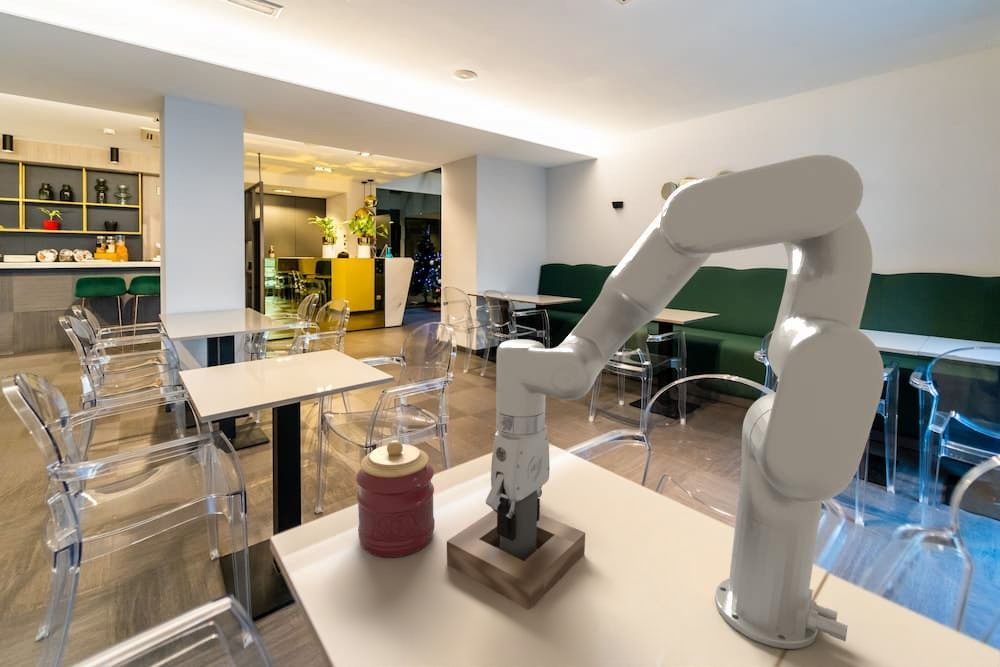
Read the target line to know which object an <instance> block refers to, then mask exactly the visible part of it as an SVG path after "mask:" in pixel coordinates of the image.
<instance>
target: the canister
mask: <svg viewBox="0 0 1000 667" xmlns="http://www.w3.org/2000/svg"><path fill="white" fill-rule="evenodd" d="M429 459H430V457H429V455H428V454H427V453H426V452H425V451H424V450H422V449H419V448H418V447H416V446H414V445H412V444H406V443H402V442H401V441H400V440H398V439H393V440H390V441H389V442H388V444H386V445H383V446H379V447H376V448H374V450H371V452H369V453H368V454H366V455H365V456H364V457H363V458H362V459H361V462H360V469H358V472H357V473H356V475H355V481H356V483H357V485H358V486H359V489H358V491H357V494H356V500H357V504H358V505H357V506H358V507H357V508H358V526H357V528H358V529H357V530H358V531H357V532H358V539H359V542H360V545H361V547H362V548H363V550H364V551H366V552H368V553H369V554H371V555H374V556H377V557H382V558H400V557H406V556H408V555H411V554H414V553H416V552H419V551H420V550H422V549H423V548H425V547H426V546H427V545H428V544H429V543H430V542H431V540H432V539H433V536H434V531H435V525H436V524H435V516H434V492H435V487H434V485H433V483H432V479H433V477H434V474H435V469H434V467H433V466H432V464H431V463H430V462H429Z"/></svg>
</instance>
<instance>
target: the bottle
mask: <svg viewBox="0 0 1000 667" xmlns="http://www.w3.org/2000/svg"><path fill="white" fill-rule="evenodd" d="M505 493H506V492H505ZM508 503H509V500H508V499H505V498H504V502H503V504H504V505H505V506H506V507H507V508H508ZM513 515H515V516H516V537H515V539H514V540H513V541H511V540H509V539H507V538H505V537H503V536H500V546H499V549H500V550H502V551H504V552H506V553H508V554H510V555H512V556H514V557H516V558H518V559H520V560H522V561H525V560H526V559H527V558H528V557H529V556H531V555H532V554H533V553H534V552H535V551H536V550H537V548H536V535H537V490H536V491H534V492H533V493H531V494H530V495H528V496H527V497H525V498H524V499H522V500H521V501H519V502H516V504H515V508H514V513H513Z"/></svg>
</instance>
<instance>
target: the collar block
mask: <svg viewBox="0 0 1000 667" xmlns="http://www.w3.org/2000/svg"><path fill="white" fill-rule="evenodd" d="M585 546H586V532H585V531H583V530H580V529H577V528H576V527H573V526H570V525H568V524H565V523H563V522H560V521H558V520H556V519H553V518H551V517H548V516H546V515H544V514H541V513H540V515H539V521H537V535H536V551H535V552H534V553H533V554H532V555H531V556H529V557H528V558H527V559H526V560H525V561H522V560H520V559H518V558H516V557H514V556H512V555H510V554H508V553H506V552H504V551H502V550H500V548H499V547H500V535H499V534H498V533H497V513H496V512H495V511H494V510H493V509H492V510H491V511H490V512H488V513H486V515H483V516H482V517H481V518H480V519H478V520H476V521H475V522H474V523H472V524H470V525H469V526H467V527H466V528H464V529H463V530H462V531H460V532H458V533H457V534H455V535H453V536H452V537H451V538H450V539H449V538H448V540H446V564H447V565H448V566H450V567H451V568H454V569H455V570H457V571H459V572H461V573H463V574H464V575H467V576H468V577H470V578H472V579H474V580H475V581H476V582H479V583H480V584H482V585H484V586H485V587H487V588H489V589H491V590H493V591H495V592H496V593H499V594H500V595H502V596H504V597H506V598H507V599H509V600H511V602H512V601H513V602H514V603H516V604H519V606H521V607H523V608H525V609H527V610H529V611H530V610H531V609H532V608H533V607H534V606H535V605H536V604H538V602H539V601H540V600H541V599H542V598H544V596H545V595H546V594H547V593H548V592H549V591H550V590H551V589H552V588H553V587H554V586H555V585H556V584H557V583H558V582H559V581H560V580H561V579H562V578H563V577H564V576H565V575H566V574H567V573H568V572H569V571H570V570H571V569H572V568H573V567H574V565H576V564H577V563H578V562H579V561H580V560H581V559H582V558H583V557H584V556H585V550H586V549H585V548H586V547H585Z"/></svg>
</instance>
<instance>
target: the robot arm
mask: <svg viewBox="0 0 1000 667" xmlns="http://www.w3.org/2000/svg"><path fill="white" fill-rule="evenodd" d="M863 184H864V183H863V180H862V177H861V175H860V174H859V171H858V170H857V169H856V167H855V166H853V165H852V164H851V163H849V162H848V161H847V160H845V159H843V158H840V157H838V156H835V155H834V156H833V155H830V154H812V155H806V156H801V157H797V158H793V159H787V160H782V161H780V162H779V161H778V162H775V163H770V164H765V165H762V166H758V167H757V166H756V167H753V168H749V169H744V170H739V171H736V172H730V173H726V174H725V173H724V174H720V175H716V176H715V175H714V176H710V177H706V178H701V179H695V180H694V181H690V182H687V183H685V184H684V185H681V186H679V187H678V188H677V189H675V190H674V191H673V192H672V193H670V195H669V197H668V198H666V199H667V200H666V201H665V202H664V205H663V208H662V209H661V210H660V211H659V213H658V215H657V216H656V217H655V219H654V220H653V221H652V222H651V224H650V225H649V226H648V227H647V229H646V230H645V231H644V232H643V234H642V235H641V236H640V237H639V238H638V240H637V241H636V242H635V243H634V245H632V247H631V248H630V249H629V250H628V252H627V253H626V255H624V257H623V258H622V260H620V262H619V263H618V264H617V265H616V266H615V268H614V269H613V270H612V271H611V273H610V274H609V276H608V277H607V278H606V280H605V282H604V284H603V286H602V289H601V291H600V293H599V295H598V297H597V298H596V300H595V302H593V304H592V305H591V306H590V308H589V309H588V311H587V312H586V313H585V315H583V317H582V318H581V319H580V321H579V322H578V323H577V324H576V326H575V327H574V328H573V329H572V330H571V332H570V333H569V334H568V336H566V337H565V339H564V340H563V341H562V342H561V343H560V344H559V345H558V346H555V347H553V348H546V347H545V345H544V344H543V343H541V342H540V341H538V340H537V341H536V340H533V339H526V338H525V339H519V338H517V339H509V340H505V341H502V342H501V343H499V345H498V347H497V348H496V372H495V373H496V379H495V381H496V385H495V386H496V388H495V390H496V391H495V393H496V396H495V401H496V403H495V410H496V412H495V414H496V415H495V420H496V421H495V430H496V432H495V435H494V438H493V447H492V455H491V456H492V457H491V468H490V470H491V471H490V484H491V485H490V486H491V487H490V491H489V493H488V495H487V497H486V499H485V504H486V505H487V506H488V507H490V508H491V509H492V511H493V510H494V511H495V512H496V513H497V533H498V534H499V535H500V536H503V537H505V538H507V539H509V540H511V541H513V540H514V539H515V537H516V516H515V515H513V513H514V508H515V504H516V502H519V501H521V500H522V499H524V498H525V497H527V496H528V495H530V494H531V493H533V492H534V491H536V490H537V521H539V515H540V514H541V513H540V511H541V510H540V508H541V507H540V506H541V505H540V504H541V503H540V502H541V499H540V498H541V497H542V494H543V489H542V488H543V486H544V485H545V484H546V483H548V481H549V479H550V442H549V436H548V435H549V434H548V429H547V424H546V396H547V397H551V398H554V399H558V400H563V401H576V400H579V399H581V398H584V397H585V396H586V395H588V393H589V392H590V390H591V389H592V387H593V386H594V384H595V382H596V380H597V377H598V375H599V374H600V373H601V371H602V370H603V369H604V368H605V366H606V365H607V364H608V363H609V362H610V360H611V359H612V358H613V357H614V356H615V354H617V352H618V351H619V350H620V349H621V348H622V347H623V345H624V344H625V343H626V342H627V341H628V340H629V339H630V338H631V337H632V336H633V335H635V333H636V332H637V331H638V330H640V328H641V327H643V326H645V325H646V324H649V323H650V322H651V321H653V320H654V319H655V318H656V317H657V316H658V315H659V314H661V313H662V311H663V310H665V308H666V307H667V306H668V305H669V303H670V302H671V301H672V300H673V299H674V298H675V297H676V295H677V294H678V293H679V292H680V291H681V289H682V288H683V287H684V286H685V285H686V284H687V283H688V282H689V281H690V279H691V278H692V277H693V276H694V275H695V274H696V272H697V271H698V270H699V269H700V268H701V267H702V266H703V265H704V264H705V263H706V262H707V260H708V259H709V258H710V256H711V255H712V254H720V253H727V252H735V251H742V250H748V249H754V248H760V247H766V246H773V245H778V244H783V245H784V248H785V252H786V256H787V272H786V278H785V284H784V289H783V294H782V298H781V301H780V302H781V303H780V306H779V309H778V313H777V317H776V321H775V325H774V328H773V331H772V335H771V338H770V340H769V343H768V348H767V349H768V350H767V358H768V363H769V365H770V367H771V370H772V372H773V373H774V374H775V377H777V378H778V381H777V386H776V389H775V392H771V393H768V394H765V395H763V396H761V397H760V398H758V399H757V400H755V401H754V402H753V403H752V405H751V406H750V407H749V408H748V409H747V412H746V414H745V417H744V419H743V424H742V431H741V433H742V434H741V467H740V480H739V488H738V489H739V490H738V499H737V506H736V515H735V524H734V534H733V542H732V550H731V551H732V552H731V560H730V571H729V578H727V579H725V580H723V581H721V582H720V583H719V584H718V585H717V587H716V590H715V595H714V596H715V597H714V598H715V604H716V608H717V610H718V612H719V613H720V615H721V617H723V618H724V620H725V621H726V622H727V623H728V624H729V625H730V626H732V628H734V629H735V630H737V631H738V632H740V633H741V634H743V635H744V636H746V637H748V638H749V639H751V640H754V641H756V642H758V643H761V644H764V645H766V646H770V647H773V648H780V649H785V650H786V649H789V650H790V649H791V650H792V649H793V650H794V649H802V648H805V647H808V646H810V645H811V644H812V643H814V642H815V641H816V638H817V636H818V631H820V632H822V633H825V634H828V635H829V636H831V637H833V638H836V639H838V640H841V641H843V642H846V641H847V634H848V625H847V624H845V623H842V622H840V621H837V618H838V611H835V610H833V609H830V608H829V607H824V606H821V605H819V604H818V603H817V602H816V601H814V600H812V599H813V594H814V593H813V592H814V590H813V589H812V588H810V586H811V582H812V574H813V566H814V559H815V552H816V546H817V539H818V532H819V525H820V520H821V513H822V503H823V502H824V501H828V500H831V499H833V498H835V497H836V496H838V495H839V494H841V493H842V492H843V491H844V490H845V489H846V488H847V487H848V486H849V485H850V483H851V482H852V480H853V479H854V477H855V475H856V473H857V471H858V469H859V466H860V464H861V461H862V457H863V455H864V451H865V449H866V444H867V443H868V442H867V441H868V439H869V436H870V433H871V429H872V426H873V424H874V423H873V422H874V421H875V417H876V414H877V410H878V408H879V407H878V406H879V404H880V400H881V397H882V393H883V388H884V382H885V369H884V368H885V367H884V362H883V359H882V358H883V357H882V356H881V353H880V350H879V349H878V347H877V346H876V344H875V343H874V342H873V341H872V340H871V339H870V338H869V337H868V336H867V335H866V333H863V332H862V331H860V327H861V322H862V317H863V313H864V310H865V305H866V301H867V295H868V291H869V287H870V282H871V279H872V273H873V262H874V261H873V249H872V244H871V240H870V237H869V234H868V232H867V230H866V227H865V225H864V224H863V222H862V219H861V218H860V216H859V215H858V213H857V211H858V210H859V207H860V206H861V203H862V199H863V195H864V185H863ZM505 492H506V493H505ZM504 498H505V499H508V500H509V503H508V508H507V507H506V506H505V505H504V504H503V502H504Z"/></svg>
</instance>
